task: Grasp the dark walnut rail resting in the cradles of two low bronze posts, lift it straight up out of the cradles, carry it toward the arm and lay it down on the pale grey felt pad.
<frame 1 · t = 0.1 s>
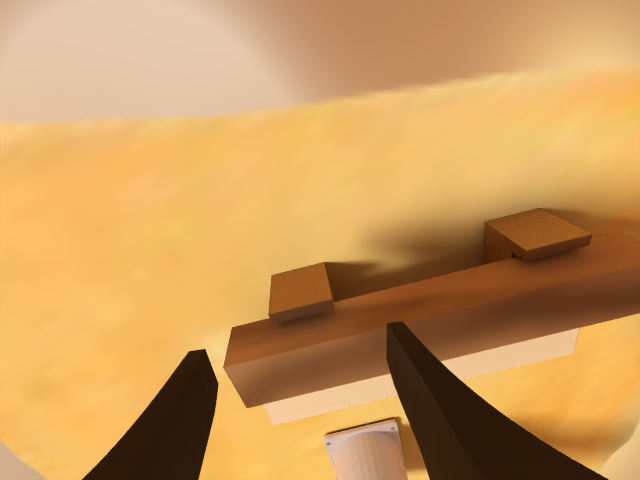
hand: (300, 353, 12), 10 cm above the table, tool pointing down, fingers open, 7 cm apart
post a: (509, 253, 23), on the table
post b: (308, 302, 24), on the table
rail: (423, 303, 21), point 3 cm above the table, touching post a, post b
felt pad: (416, 351, 27), on the table
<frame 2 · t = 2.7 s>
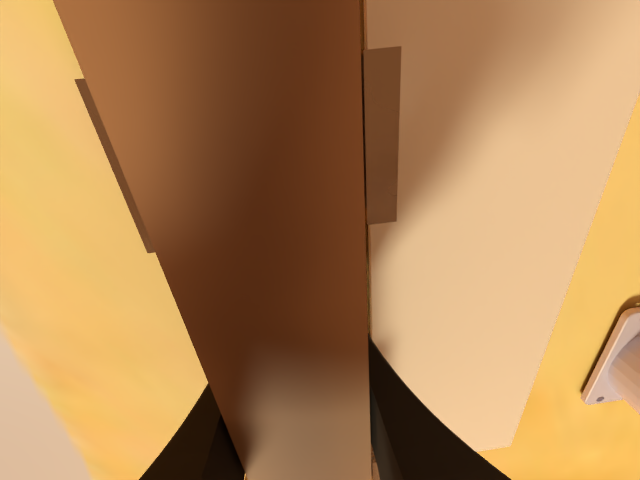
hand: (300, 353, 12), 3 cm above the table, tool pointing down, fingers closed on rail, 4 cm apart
post a: (269, 134, 11), on the table
rail: (300, 357, 12), point 3 cm above the table, touching gripper, post a, post b
felt pad: (469, 284, 15), on the table
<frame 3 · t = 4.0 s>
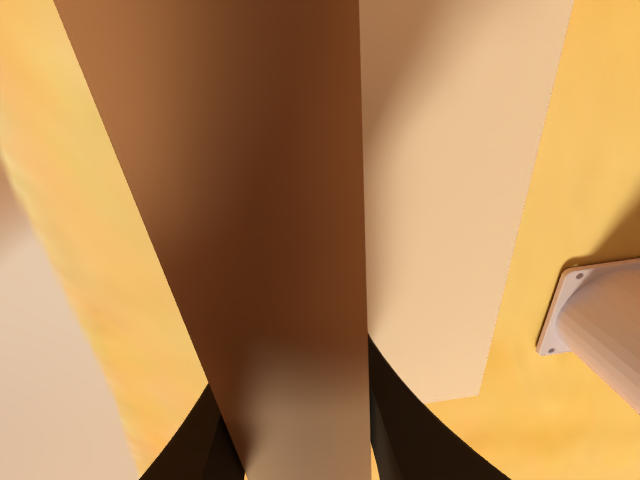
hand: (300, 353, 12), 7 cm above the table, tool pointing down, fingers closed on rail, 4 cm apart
rail: (300, 357, 12), point 7 cm above the table, touching gripper
felt pad: (433, 245, 18), on the table
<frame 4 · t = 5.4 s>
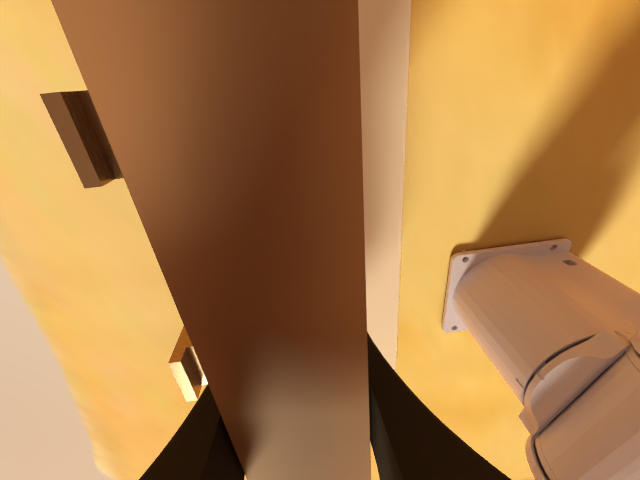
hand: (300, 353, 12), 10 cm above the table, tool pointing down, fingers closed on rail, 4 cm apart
post a: (172, 124, 17), on the table
post b: (234, 331, 25), on the table
rail: (300, 357, 12), point 11 cm above the table, touching gripper
felt pad: (330, 231, 21), on the table
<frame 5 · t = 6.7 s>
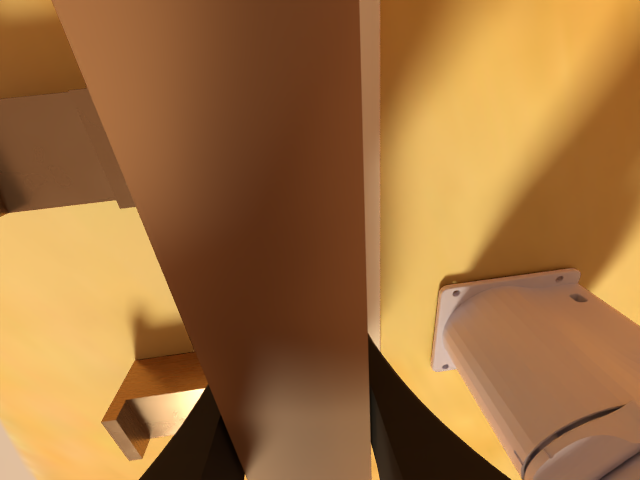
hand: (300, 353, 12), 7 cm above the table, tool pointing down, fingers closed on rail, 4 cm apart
post a: (92, 142, 14), on the table
post b: (192, 373, 21), on the table
rail: (300, 357, 12), point 7 cm above the table, touching gripper
felt pad: (296, 263, 18), on the table
when the fingers open (3 cm above the table, at t = 8.0 s): rail drops 3 cm, resting on felt pad.
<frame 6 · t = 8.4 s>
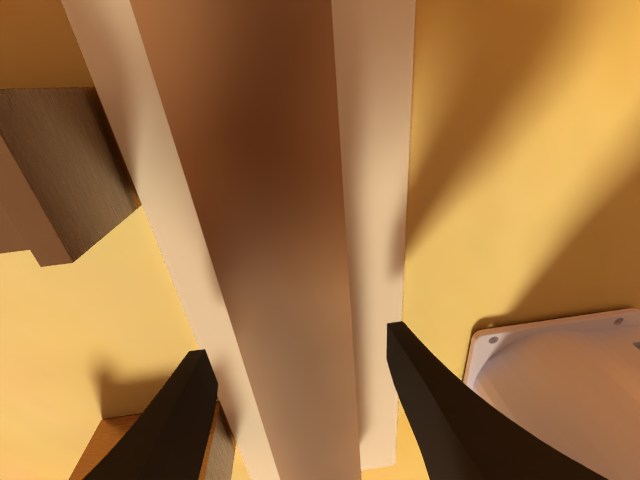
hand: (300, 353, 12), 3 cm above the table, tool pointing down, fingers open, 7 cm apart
post a: (23, 162, 10), on the table
post b: (172, 431, 18), on the table
rail: (298, 312, 14), resting on felt pad
felt pad: (298, 307, 14), on the table
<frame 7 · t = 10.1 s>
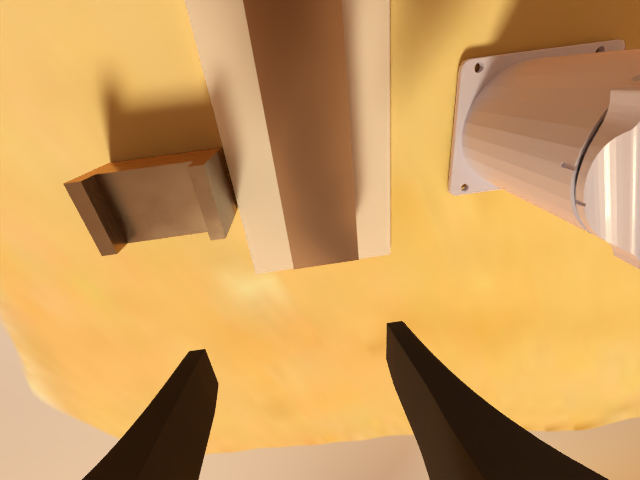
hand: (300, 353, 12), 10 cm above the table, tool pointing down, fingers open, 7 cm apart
post b: (177, 187, 19), on the table
rail: (291, 12, 15), resting on felt pad
felt pad: (291, 14, 15), on the table
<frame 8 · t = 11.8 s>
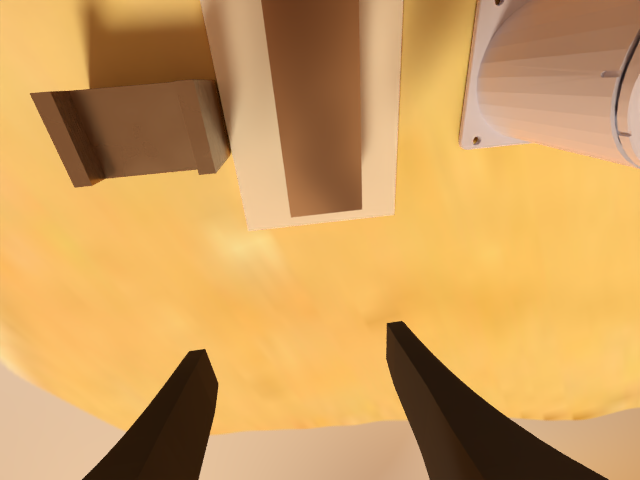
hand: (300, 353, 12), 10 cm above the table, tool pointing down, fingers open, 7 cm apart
post b: (164, 124, 17), on the table
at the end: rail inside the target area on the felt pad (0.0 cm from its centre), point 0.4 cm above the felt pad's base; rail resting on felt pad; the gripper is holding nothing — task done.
